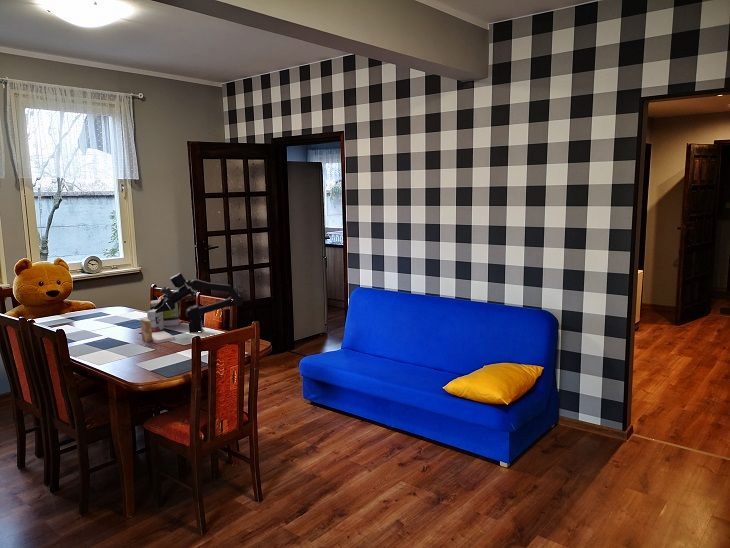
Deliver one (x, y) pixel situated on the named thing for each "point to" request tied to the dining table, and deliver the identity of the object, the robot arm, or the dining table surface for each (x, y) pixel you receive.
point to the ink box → (155, 320)
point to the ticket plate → (162, 337)
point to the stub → (146, 330)
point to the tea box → (168, 314)
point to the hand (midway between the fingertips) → (154, 310)
